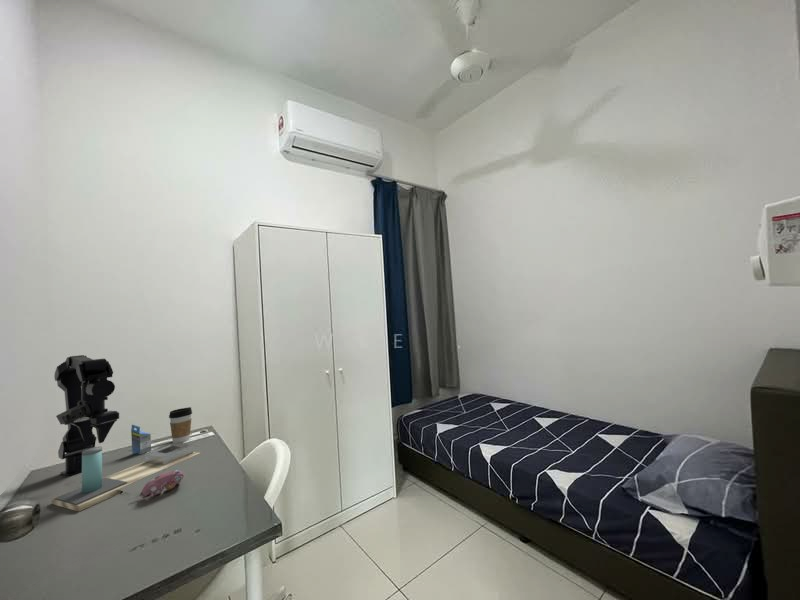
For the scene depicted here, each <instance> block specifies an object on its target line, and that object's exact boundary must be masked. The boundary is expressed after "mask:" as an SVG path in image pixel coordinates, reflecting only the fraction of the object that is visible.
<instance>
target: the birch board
mask: <svg viewBox="0 0 800 600" xmlns="http://www.w3.org/2000/svg"><path fill="white" fill-rule="evenodd" d="M199 454H200V452H198V451H194V453H192V454H189V455H187V456H185V457H182V458H180V459H178V460H175V461H173V462H171V463H168V464H166V465H164V466H162V465H156V464H149V463H144V461H142V462H141V463H138V464H135V465H133V466H130V467H128V468H125V469H123V470H120V471H117V472H114V473H113V474H112V473H111V474H110V475H108V476H105V477H102V479H103V478H110V479H115V480H120V481H125V482H127V483H126V484H124V485H122V486H119V487H117V488H115V489H113V490H110V491H108V492H106V493H103V494H101V495H99V496H96V497H94V498H92V499H90V500H87V501H85V502H83V503H80V504H78V505H73V504H70V503H66V502H62V501H58V500H55V499H54V498H55V497H58V496H60V495H63V494H65V493H68V492H69V491H68V492H64V493H62V494H60V495H57V496H55V497H53V498H51V505H54V506H57V507H62V508H64V509H68V510H72V511H75V512H79V513H80V512H81V511H84V510H86V509H88V508H90V507H92V506H94V505H97V504H99V503H101V502H103V501H106V500H108V499H110V498H112V497H115V496H117V495H119V494H121V493H124V492H123V491H124V490H120V489H122V488H124V487H126V486H128V485H130V484H133V483H135V482H138V481H139V480H142V479H144V478H146V477H149V476H151V475H153V474H156V473H158V472H160V471H163V470H165V469H167V468H170V467H171V466H173V465H177V464H178V463H180V462H183V461H185V460H188V459H190V458H192V457H195V456H196V455H199ZM78 488H79V487H77V488H76V489H78ZM73 490H74V489H73ZM73 490H71V491H73Z"/></svg>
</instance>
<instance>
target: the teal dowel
mask: <svg viewBox="0 0 800 600" xmlns="http://www.w3.org/2000/svg"><path fill="white" fill-rule="evenodd" d="M102 478H103V446H95V447H93V448H89V449H86V450H84V451H82V471H81V487H82V493H90V492H93V491H96V490H98V489H100V488H101V487H102Z"/></svg>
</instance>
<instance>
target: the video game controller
mask: <svg viewBox="0 0 800 600" xmlns="http://www.w3.org/2000/svg"><path fill="white" fill-rule="evenodd" d="M183 478H184V473H183V472H182V471H181V470H179V469H175V470H173V471H171V470H170V471H166V472H162V473H161V474H159V475H157V476H155V477H152V478H150V479H149V481H147V482H146V484H144V486H143V488H142V490H141V497H142V498H146V497H148V496H149V495H150V494H152V495H153V496H157V494H158V495H160V494H161V493H162V492H163V490H164V489H163V487H162V486H163V485H165V489H166V490H167V491H171V490H173V489H174V488H175V487H176V485H179V484H180V483H181V482H182V480H183ZM172 488H173V489H172ZM170 489H171V490H170Z"/></svg>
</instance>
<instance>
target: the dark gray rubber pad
mask: <svg viewBox="0 0 800 600" xmlns="http://www.w3.org/2000/svg"><path fill="white" fill-rule="evenodd" d="M102 478H103V479H102V487H101V488H100V489H98V490H96V491H93V492H90V493H82V486H80V487H77V488H78V489H77V488H75V489H73V491H72V490H70V491H68V493H67V492H64V493H65V494H64V493H62V494H63V495H62V494H60V496H59V495H57V496H58V497H57V496H55V498H54V497H53V498H54V499H55V500H58V501H62V502H66V503H70V504H73V505H78V504H80V503H83V502H85V501H87V500H90V499H92V498H94V497H96V496H99V495H101V494H103V493H106V492H108V491H110V490H113V489H115V488H117V487H119V486H122V485H124V484H126V483H127V482H125V481H120V480H115V479H110V478H105V477H102Z"/></svg>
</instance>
